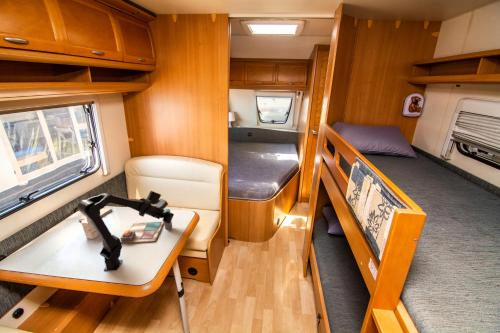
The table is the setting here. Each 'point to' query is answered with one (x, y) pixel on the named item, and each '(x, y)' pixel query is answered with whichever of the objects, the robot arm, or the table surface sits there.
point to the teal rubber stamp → (167, 226)
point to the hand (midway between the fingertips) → (169, 217)
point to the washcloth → (102, 214)
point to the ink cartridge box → (89, 229)
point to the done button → (127, 233)
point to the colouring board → (143, 233)
